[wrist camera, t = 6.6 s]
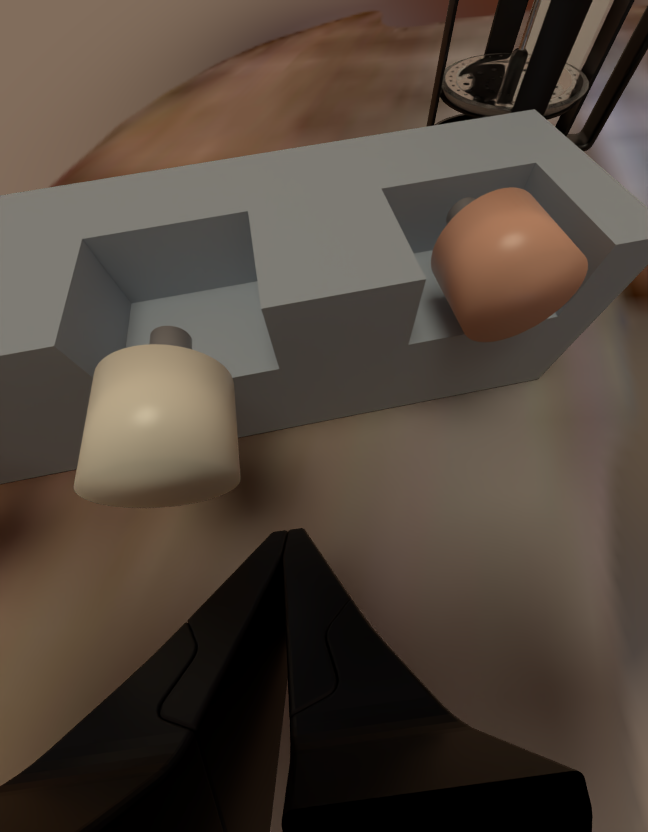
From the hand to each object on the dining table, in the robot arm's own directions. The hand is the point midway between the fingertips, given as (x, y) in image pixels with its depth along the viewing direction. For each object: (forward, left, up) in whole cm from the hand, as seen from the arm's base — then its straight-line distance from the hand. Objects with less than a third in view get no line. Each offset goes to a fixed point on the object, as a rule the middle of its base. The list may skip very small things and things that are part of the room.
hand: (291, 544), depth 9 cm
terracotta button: (+5, -10, 0) cm, 11 cm away
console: (+11, 0, -6) cm, 12 cm away
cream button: (+5, +2, 0) cm, 5 cm away
